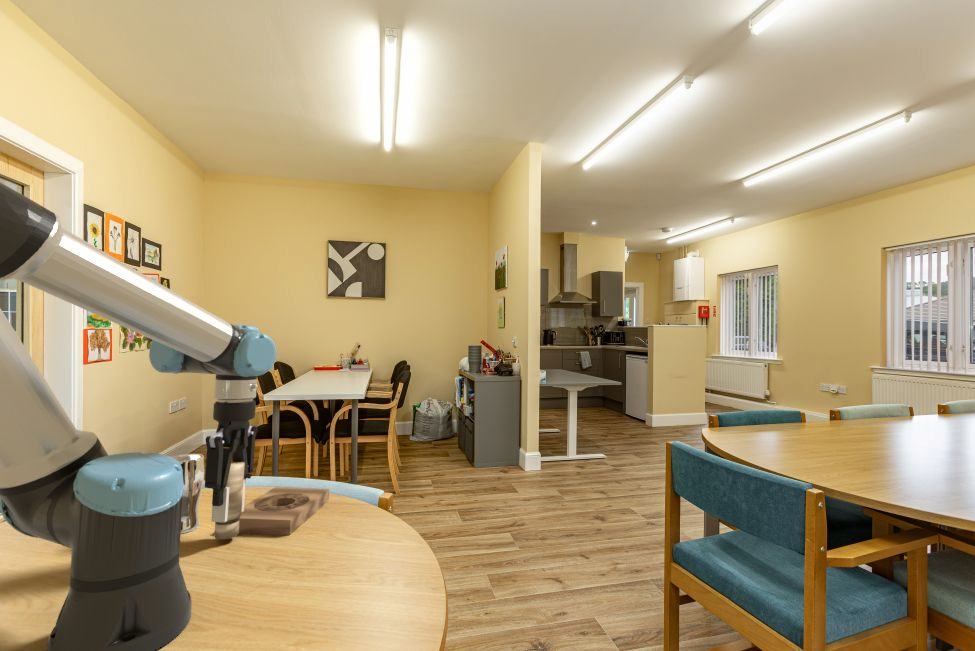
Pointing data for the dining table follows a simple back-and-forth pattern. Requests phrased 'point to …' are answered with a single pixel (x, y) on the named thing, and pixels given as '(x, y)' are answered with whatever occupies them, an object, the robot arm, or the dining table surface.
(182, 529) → the metal cup
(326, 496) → the board
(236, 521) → the peg
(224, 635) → the dining table surface
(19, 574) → the dining table surface
